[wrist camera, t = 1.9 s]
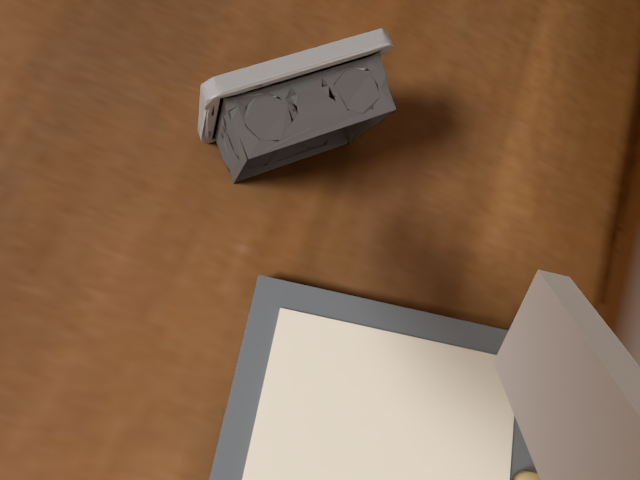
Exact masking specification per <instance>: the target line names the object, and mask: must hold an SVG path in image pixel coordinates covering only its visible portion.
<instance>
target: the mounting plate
mask: <svg viewBox="0 0 640 480" xmlns="http://www.w3.org/2000/svg"><path fill="white" fill-rule="evenodd" d="M507 333H508V330H504V329H499V328H495V327H490V326H486V325H482V324H477V323H473V322H468V321H464V320H459V319H455V318H450V317H446V316H441V315H437V314H432V313H428V312H423V311H419V310H414V309H410V308H405V307H401V306H396V305H392V304H387V303H383V302H378V301H374V300H370V299H365V298H361V297H356V296H352V295H347V294H343V293H338V292H334V291H329V290H325V289H320V288H316V287H311V286H307V285H302V284H298V283H293V282H289V281H284V280H280V279H275V278H271V277H266V276H262V275H258V278H257V282H256V286H255V291H254V295H253V299H252V303H251V307H250V311H249V315H248V320H247V324H246V328H245V332H244V336H243V340H242V345H241V349H240V353H239V357H238V361H237V365H236V369H235V374H234V378H233V382H232V386H231V390H230V394H229V399H228V403H227V407H226V411H225V415H224V419H223V423H222V428H221V432H220V436H219V440H218V444H217V448H216V452H215V457H214V461H213V465H212V469H211V473H210V477H209V480H540V478H539V476H538V474H537V471H536V468H535V466H534V463H533V461H532V458H531V456H530V453H529V451H528V448H527V446H526V443H525V441H524V438H523V436H522V433H521V431H520V428H519V426H518V423H517V421H516V418H515V416H514V413H513V411H512V408H511V405H510V403H509V400H508V398H507V395H506V393H505V390H504V388H503V385H502V383H501V380H500V378H499V375H498V373H497V370H496V368H495V365H494V363H493V362H494V360H495V358H496V356H497V354H498V352H499V350H500V347H501V345H502V343H503V341H504V339H505V337H506V335H507Z"/></svg>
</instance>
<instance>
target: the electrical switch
mask: <svg viewBox="0 0 640 480" xmlns="http://www.w3.org/2000/svg"><path fill="white" fill-rule="evenodd" d="M393 47H394V45H393V43H392V41H391V39H390V37H389V34H388V32H387V30H385V29H383V28H381V29H377V30H374V31H370V32H367V33H363V34H360V35H356V36H353V37H350V38H346V39H343V40H339V41H336V42H332V43H329V44H325V45H322V46H318V47H315V48H311V49H308V50H305V51H301V52H298V53H294V54H291V55H287V56H284V57H280V58H277V59H273V60H270V61H266V62H263V63H260V64H256V65H253V66H249V67H246V68H242V69H239V70H235V71H232V72H228V73H225V74H221V75H218V76H215V77H212V78H210V79H209V80H207V81H206V82H204V83H203V84H202V85H201V87H200V102H199V118H198V132H199V136H200V139H201V142H203V143H206V144H209V143H212V142H215V141H216V143H217V145H218V148H219V151H220V154H221V157H222V159H223V161H224V163H225V164H226V166H227V168H228V171H229V173H230V176H231V179H232V182H233V183H235V182H238V181H241V180H244V179H247V178H250V177H253V176H256V175H259V174H261V173H264V172H267V171H270V170H273V169H276V168H279V167H282V166H285V165H288V164H290V163H293V162H296V161H299V160H302V159H305V158H308V157H311V156H314V155H316V154H319V153H322V152H325V151H328V150H331V149H334V148H337V147H340V146H343V145H345V144H348V141H349V143H351V142H353V141H354V140H356V139H357V138H358V137H360V136H361V135H362V134H364V133H365V132H367V131H368V130H369V129H371V128H372V127H374V126H375V125H376V124H378V123H379V122H380V121H382V120H383V119H385V118H386V117H387V116H389V115H390V114H392V113H393V112H394V111H396V110H397V109H396V107H395V104H394V101H393V99H392V96H391V93H390V90H389V88H388V84H387V76H386V72H385V70H384V67H383V64H382V61H381V56H382V55H385V54H386V53H387V52H389V51H390V50H391V49H392V48H393ZM344 131H345V132H344ZM345 133H346V135H345ZM346 136H347V138H348V141H347V138H346ZM277 140H279V142H278V141H277ZM301 142H302V143H301ZM323 144H324V145H323ZM322 145H323V146H322ZM307 146H310V148H308V147H307ZM265 164H267V165H266V166H264V165H265Z"/></svg>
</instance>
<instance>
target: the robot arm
mask: <svg viewBox="0 0 640 480" xmlns="http://www.w3.org/2000/svg"><path fill="white" fill-rule="evenodd" d="M493 363H494V365H495V368H496V370H497V373H498V375H499V378H500V380H501V383H502V385H503V388H504V390H505V393H506V395H507V398H508V400H509V403H510V405H511V408H512V411H513V413H514V416H515V418H516V421H517V423H518V426H519V428H520V431H521V433H522V436H523V438H524V441H525V443H526V446H527V448H528V451H529V453H530V456H531V458H532V461H533V463H534V466H535V468H536V471H537V473H538V476H539V478H540V480H640V366H639V365H638V363H637V362H636V361H635V360H634V358H633V357H632V356H631V355H630V353H629V352H628V351H627V350H626V348H625V347H624V346H623V344H622V343H621V342H620V340H619V339H618V338H617V337H616V335H615V334H614V333H613V332H612V330H611V329H610V328H609V326H608V325H607V324H606V323H605V321H604V320H603V319H602V318H601V316H600V315H599V314H598V312H597V311H596V310H595V309H594V307H593V306H592V305H591V304H590V302H589V301H588V300H587V298H586V297H585V296H584V295H583V293H582V292H581V291H580V289H579V288H578V287H577V286H576V284H575V283H574V282H573V281H572V279H571V278H570V277H568V276H564V275H560V274H555V273H551V272H547V271H543V270H538V271H537V273H536V275H535V277H534V279H533V281H532V283H531V285H530V287H529V289H528V291H527V293H526V296H525V298H524V300H523V302H522V304H521V306H520V308H519V310H518V312H517V314H516V316H515V318H514V320H513V323H512V325H511V327H510V329H509V331H508V333H507V335H506V337H505V339H504V341H503V343H502V345H501V347H500V350H499V352H498V354H497V356H496V358H495V360H494V362H493Z"/></svg>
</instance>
